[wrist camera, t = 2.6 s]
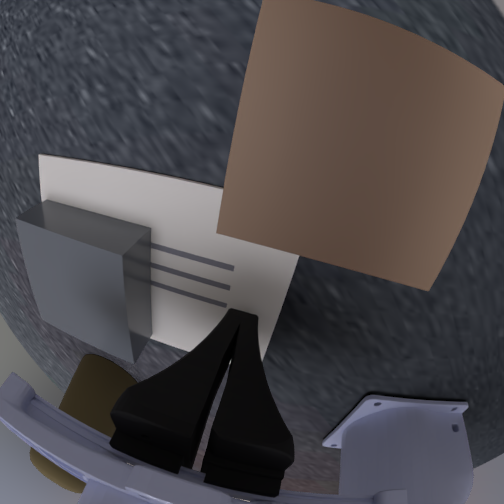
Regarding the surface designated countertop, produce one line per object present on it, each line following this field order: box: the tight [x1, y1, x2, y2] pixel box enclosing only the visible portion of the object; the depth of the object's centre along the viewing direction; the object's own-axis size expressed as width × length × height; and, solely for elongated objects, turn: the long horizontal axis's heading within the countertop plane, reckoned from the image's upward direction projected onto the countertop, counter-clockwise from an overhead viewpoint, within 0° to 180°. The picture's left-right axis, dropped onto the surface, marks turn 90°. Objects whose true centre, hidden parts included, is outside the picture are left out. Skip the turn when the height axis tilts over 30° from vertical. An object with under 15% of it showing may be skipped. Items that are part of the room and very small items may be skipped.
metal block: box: [15, 199, 153, 364], centre depth 14 cm, size 7×7×2 cm
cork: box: [30, 354, 137, 493], centre depth 16 cm, size 6×6×11 cm
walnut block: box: [216, 0, 504, 291], centre depth 7 cm, size 4×4×6 cm
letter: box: [39, 154, 299, 364], centre depth 14 cm, size 14×10×1 cm
